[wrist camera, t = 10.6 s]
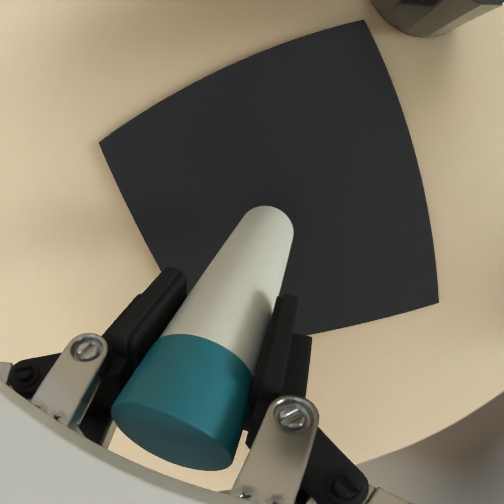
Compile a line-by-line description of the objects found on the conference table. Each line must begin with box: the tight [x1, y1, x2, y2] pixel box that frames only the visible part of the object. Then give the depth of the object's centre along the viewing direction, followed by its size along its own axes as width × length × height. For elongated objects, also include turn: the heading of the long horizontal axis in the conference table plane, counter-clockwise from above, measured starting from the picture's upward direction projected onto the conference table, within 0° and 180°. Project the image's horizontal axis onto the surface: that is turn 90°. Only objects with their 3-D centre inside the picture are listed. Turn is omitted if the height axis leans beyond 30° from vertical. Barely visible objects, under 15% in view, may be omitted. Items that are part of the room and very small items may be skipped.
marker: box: [111, 206, 294, 471], centre depth 12 cm, size 3×3×14 cm
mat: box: [99, 20, 439, 335], centre depth 20 cm, size 20×20×1 cm
